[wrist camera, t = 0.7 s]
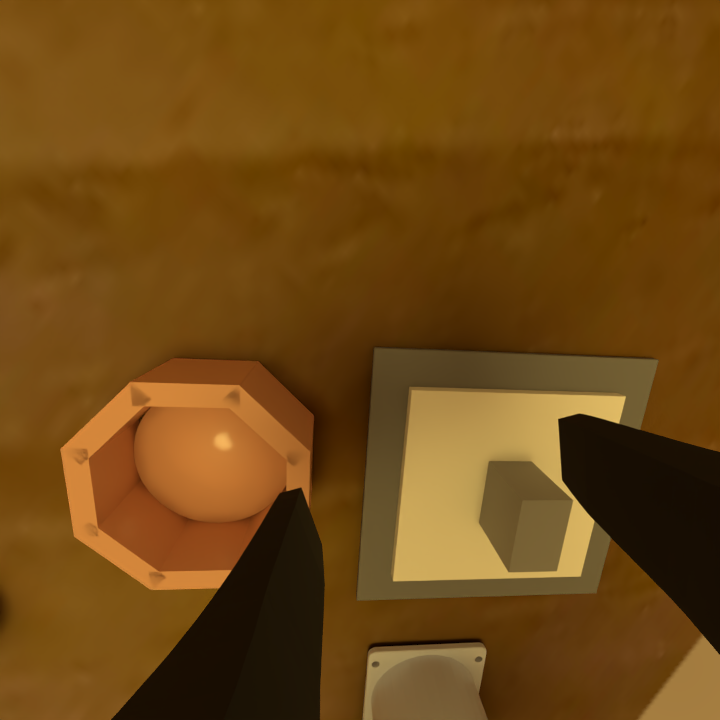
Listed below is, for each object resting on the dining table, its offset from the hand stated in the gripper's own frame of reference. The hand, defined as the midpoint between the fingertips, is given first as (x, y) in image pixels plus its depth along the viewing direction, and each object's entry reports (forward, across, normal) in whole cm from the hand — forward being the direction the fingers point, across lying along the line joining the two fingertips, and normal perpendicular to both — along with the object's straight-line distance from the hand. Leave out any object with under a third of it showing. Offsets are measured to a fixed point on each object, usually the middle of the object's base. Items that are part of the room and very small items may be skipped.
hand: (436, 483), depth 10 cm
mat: (+9, -5, +9) cm, 14 cm away
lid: (+9, -5, +9) cm, 13 cm away
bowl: (+10, +10, +2) cm, 14 cm away
